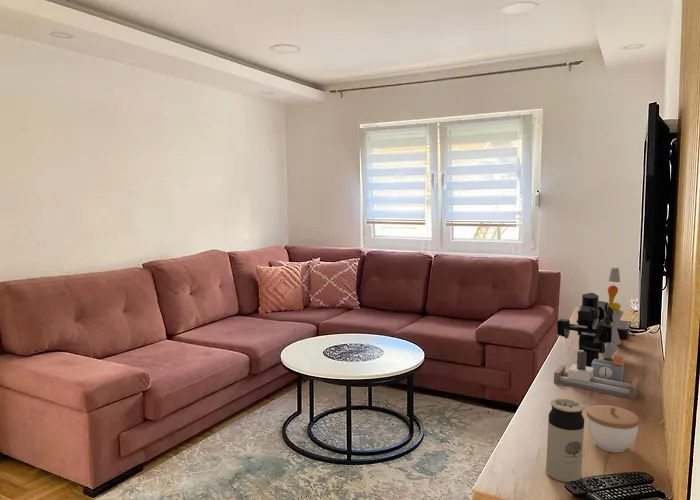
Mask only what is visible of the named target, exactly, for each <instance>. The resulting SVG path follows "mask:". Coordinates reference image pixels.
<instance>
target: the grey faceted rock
mask: <svg viewBox="0 0 700 500" xmlns="http://www.w3.org/2000/svg"><path fill="white" fill-rule="evenodd" d="M616 351H618V345H614V343H611V342H610V343H606V344H605V353H600V356H602V357H603V358H604V359H608V360H609V359H611V358H613V357H614V355H615V352H616Z"/></svg>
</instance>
